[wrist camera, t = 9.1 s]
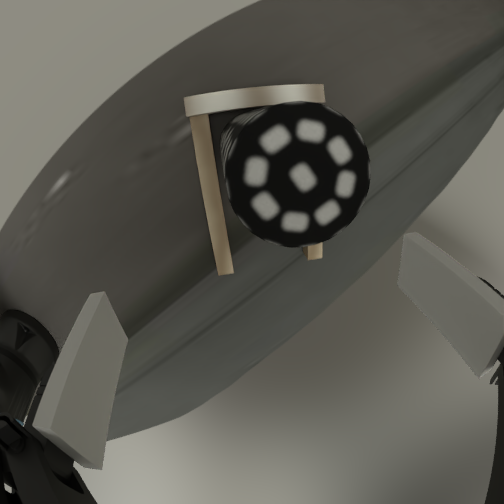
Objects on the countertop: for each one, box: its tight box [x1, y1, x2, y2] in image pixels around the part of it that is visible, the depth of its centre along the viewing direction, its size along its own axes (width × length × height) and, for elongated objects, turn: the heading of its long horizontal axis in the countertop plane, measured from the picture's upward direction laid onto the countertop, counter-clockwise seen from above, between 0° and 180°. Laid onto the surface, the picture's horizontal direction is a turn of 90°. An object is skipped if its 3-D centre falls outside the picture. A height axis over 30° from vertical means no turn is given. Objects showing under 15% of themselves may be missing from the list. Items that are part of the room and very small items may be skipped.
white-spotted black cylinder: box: [220, 101, 371, 247], centre depth 24 cm, size 8×8×20 cm
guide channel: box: [184, 84, 325, 275], centre depth 32 cm, size 14×22×6 cm, turn 7°
